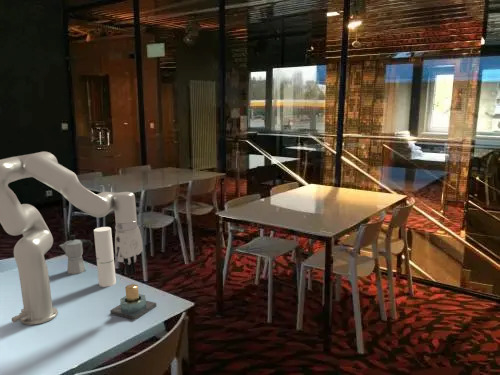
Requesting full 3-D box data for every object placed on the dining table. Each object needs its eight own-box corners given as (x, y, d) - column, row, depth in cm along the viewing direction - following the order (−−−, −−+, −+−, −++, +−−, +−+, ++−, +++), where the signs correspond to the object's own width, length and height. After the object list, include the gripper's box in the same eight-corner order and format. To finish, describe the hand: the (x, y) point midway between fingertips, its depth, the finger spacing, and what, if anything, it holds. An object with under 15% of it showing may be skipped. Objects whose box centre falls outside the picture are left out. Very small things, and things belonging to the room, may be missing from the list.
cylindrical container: (110, 279, 195) (105, 226, 190) (119, 282, 190) (114, 228, 186) (95, 284, 189) (90, 229, 185) (104, 288, 185) (99, 232, 180)
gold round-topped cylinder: (134, 310, 160) (132, 289, 159) (124, 307, 162) (122, 288, 161) (142, 304, 164) (140, 285, 163) (133, 302, 166) (131, 283, 165)
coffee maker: (62, 276, 199) (57, 239, 196) (62, 270, 207) (58, 234, 204) (95, 271, 205) (92, 234, 202) (94, 265, 213) (91, 230, 210)
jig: (135, 320, 155) (134, 308, 155) (110, 313, 161) (109, 302, 160) (156, 306, 166) (155, 295, 165) (132, 300, 171) (132, 290, 170)
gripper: (119, 232, 149) (123, 281, 152) (148, 221, 162) (151, 267, 165) (103, 230, 152) (108, 278, 156) (133, 219, 166) (137, 264, 169)
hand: (130, 272), depth 161 cm, fingers closed
